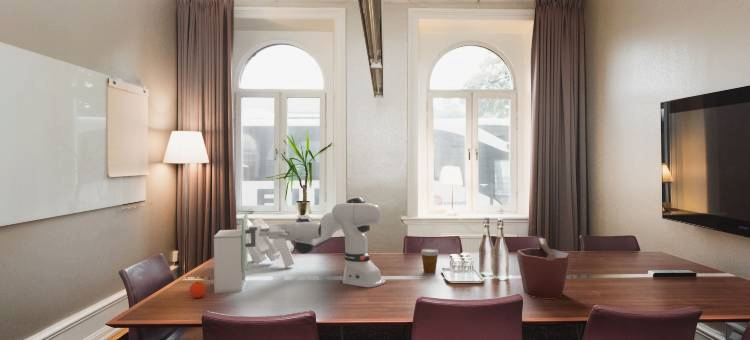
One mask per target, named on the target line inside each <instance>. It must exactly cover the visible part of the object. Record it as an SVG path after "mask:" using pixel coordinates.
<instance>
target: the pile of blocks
mask: <svg viewBox="0 0 750 340" xmlns="http://www.w3.org/2000/svg"><path fill="white" fill-rule="evenodd" d="M249 227H257V230H255V247H247V250H248V253H249V255H250V257H251V260H252V263H255V264H256V265H259V264H260V263H263V262H264V261H265V260H267V258H268V259H269V260H270V261H271V262H273V261H276V260H278V259H280V256H281V258H282V261H283V265H284V267H285V268H288V267H290V266H293V265H295V260H294V258H293V255H292V252H293V251H294V250H295V248H294V245H293V243H292V240H288V241H285V238H281V239H269V237H265V236H259V232H260V229H265V228H270V226H269V225H268V224H267V222H265V221H264V219H263V218H262V217H260V218H256V219H253V222H252V221H251V220H250V219H248V218H247V230H249ZM239 228H240V229H242V223H240V225H239ZM247 243H251V233H248V234H247Z"/></svg>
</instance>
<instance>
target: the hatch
mask: <svg viewBox="0 0 750 340" xmlns="http://www.w3.org/2000/svg"><path fill="white" fill-rule="evenodd" d="M247 219H248V214H247V213H246V214H245V215H243V217H242V218H241V224H242V228H241V230H242V272H244V271H245V272H246V268H247V265H248V260H249V259H248V256H249V255H248V253H249V250H248V249H247V247H255V230H257V227H249V230H247ZM248 233H251V243H247V234H248Z"/></svg>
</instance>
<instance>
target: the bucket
mask: <svg viewBox="0 0 750 340" xmlns="http://www.w3.org/2000/svg"><path fill="white" fill-rule="evenodd" d="M546 239H547V238H543V237H538V240H537V243H538V244H537V247H536V248H535V247H534V248H533V247H530V248H525V249H519V250H517V252H516V253H517V254H516V256H517V263H518V268H519V273H520V277H521V283H522V288H523V291H525V292H526V293H527V294H528V295H530V296H529V297H532V296H535V297H534V298H537V297H540V298H539V299H541V298H560V299H562V297H563V295H562V294H564V289H565V285H566V281H567V275H568V271H569V270H568V269H569V267H570V261H571V253H570V252H567V251H566V252H565V251H563V250H562V251H561V250H559V249H558V250H557V249H553V248H552V249H551V248H550V247H549V246H548V243H547V240H546ZM526 293H525V294H526ZM527 294H526V295H527ZM528 295H527V296H528ZM561 296H562V297H561Z"/></svg>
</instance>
